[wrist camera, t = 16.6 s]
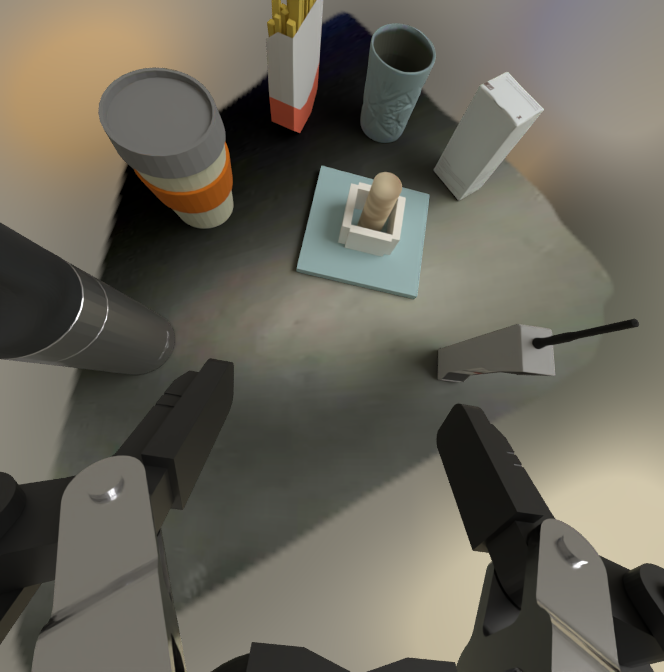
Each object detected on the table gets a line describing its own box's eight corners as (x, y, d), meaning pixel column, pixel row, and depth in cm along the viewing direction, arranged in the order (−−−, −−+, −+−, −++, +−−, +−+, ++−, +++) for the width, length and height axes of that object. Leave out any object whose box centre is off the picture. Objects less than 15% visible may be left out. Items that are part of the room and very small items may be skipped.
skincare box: (478, 189, 52) (549, 111, 37) (456, 203, 50) (520, 126, 36) (452, 157, 53) (511, 67, 38) (429, 169, 51) (481, 81, 37)
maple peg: (354, 237, 45) (371, 194, 35) (358, 216, 46) (375, 168, 36) (377, 242, 45) (400, 201, 35) (381, 222, 46) (403, 176, 36)
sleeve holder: (296, 271, 43) (296, 253, 38) (320, 171, 48) (323, 142, 43) (413, 299, 45) (430, 285, 40) (426, 199, 50) (442, 174, 44)
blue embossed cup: (402, 152, 51) (432, 81, 40) (350, 138, 50) (366, 61, 39) (408, 111, 54) (439, 33, 42) (359, 97, 53) (376, 13, 41)
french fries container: (270, 133, 48) (256, -13, 31) (294, 92, 51) (292, -64, 34) (294, 144, 49) (293, 4, 31) (316, 102, 51) (326, -49, 34)
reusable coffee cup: (260, 208, 45) (242, 119, 31) (199, 253, 42) (148, 179, 28) (209, 158, 46) (168, 49, 31) (146, 199, 43) (69, 100, 28)
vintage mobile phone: (436, 380, 43) (620, 361, 18) (437, 349, 44) (611, 293, 19) (458, 382, 43) (667, 368, 19) (458, 352, 44) (656, 300, 20)
